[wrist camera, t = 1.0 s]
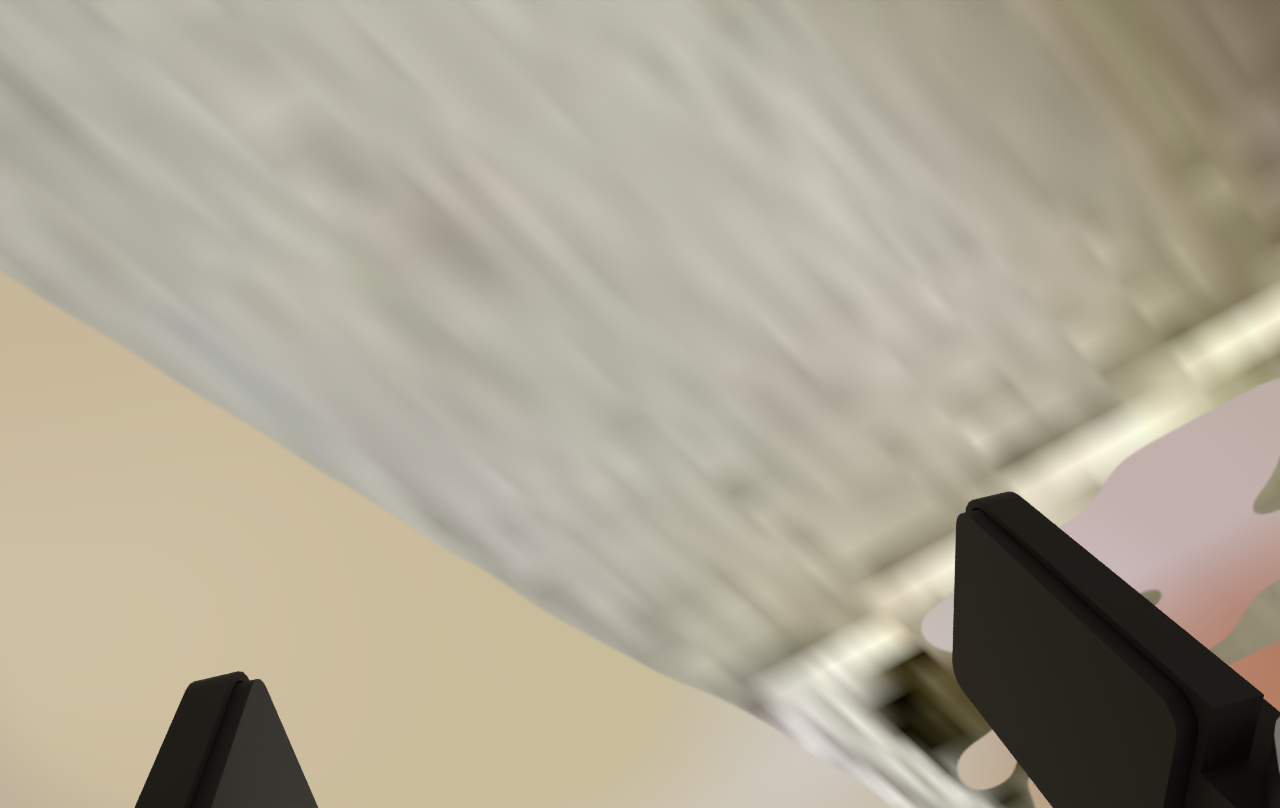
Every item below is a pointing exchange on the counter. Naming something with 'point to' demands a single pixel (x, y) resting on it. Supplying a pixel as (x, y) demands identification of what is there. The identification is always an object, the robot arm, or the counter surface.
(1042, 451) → the counter surface
